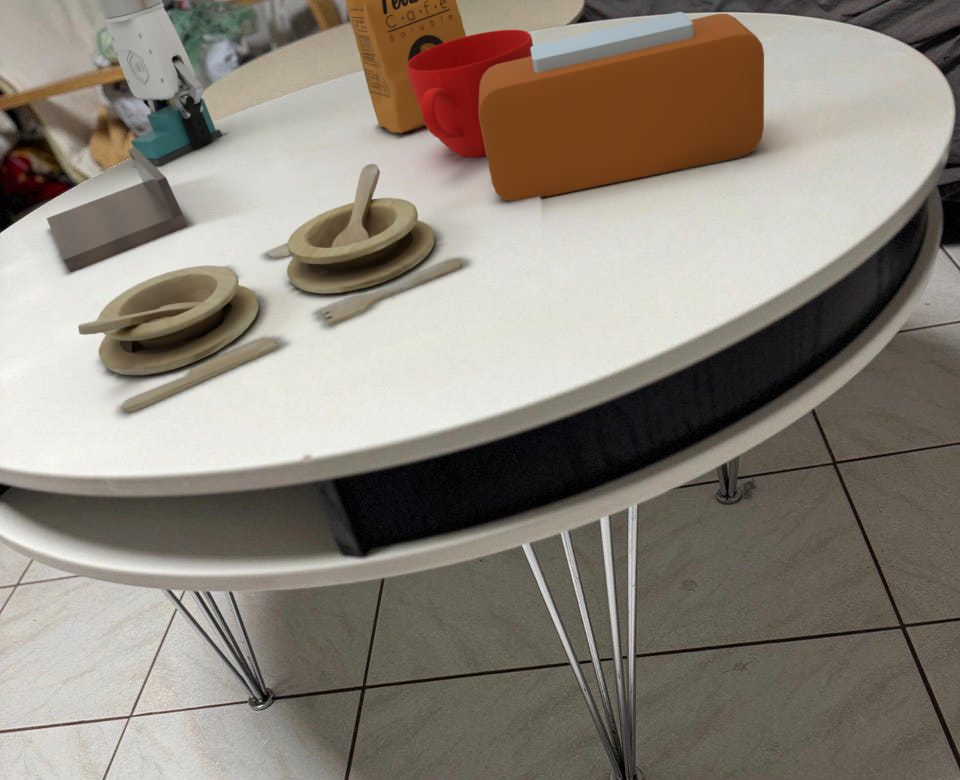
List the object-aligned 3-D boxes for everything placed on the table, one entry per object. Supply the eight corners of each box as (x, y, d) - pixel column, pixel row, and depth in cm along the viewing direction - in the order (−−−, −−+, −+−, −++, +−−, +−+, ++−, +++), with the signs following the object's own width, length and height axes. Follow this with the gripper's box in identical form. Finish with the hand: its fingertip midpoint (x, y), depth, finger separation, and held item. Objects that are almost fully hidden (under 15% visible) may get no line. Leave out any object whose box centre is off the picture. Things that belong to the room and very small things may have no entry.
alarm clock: (742, 125, 78) (740, -8, 71) (764, 153, 72) (765, 11, 65) (496, 176, 82) (472, 54, 75) (496, 208, 75) (470, 78, 68)
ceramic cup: (390, 190, 85) (362, 89, 79) (462, 129, 96) (442, 37, 90) (502, 186, 79) (480, 77, 73) (565, 122, 90) (551, 23, 84)
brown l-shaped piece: (72, 275, 85) (42, 223, 82) (54, 232, 99) (27, 185, 95) (189, 229, 89) (165, 177, 85) (157, 193, 102) (135, 146, 99)
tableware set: (123, 421, 59) (81, 351, 55) (93, 326, 74) (58, 266, 70) (478, 266, 67) (462, 196, 63) (387, 208, 81) (369, 148, 78)
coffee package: (490, 112, 99) (448, -104, 85) (395, 145, 97) (336, -72, 83) (462, 97, 107) (419, -104, 93) (373, 127, 105) (316, -74, 91)
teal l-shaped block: (161, 168, 111) (142, 126, 107) (140, 167, 114) (120, 126, 110) (223, 138, 117) (207, 97, 113) (201, 137, 120) (184, 97, 116)
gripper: (72, 15, 108) (136, 152, 119) (143, 6, 98) (205, 156, 109) (119, -2, 112) (177, 133, 123) (192, -12, 102) (247, 135, 113)
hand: (190, 142), depth 116 cm, fingers closed on teal l-shaped block, 5 cm apart
